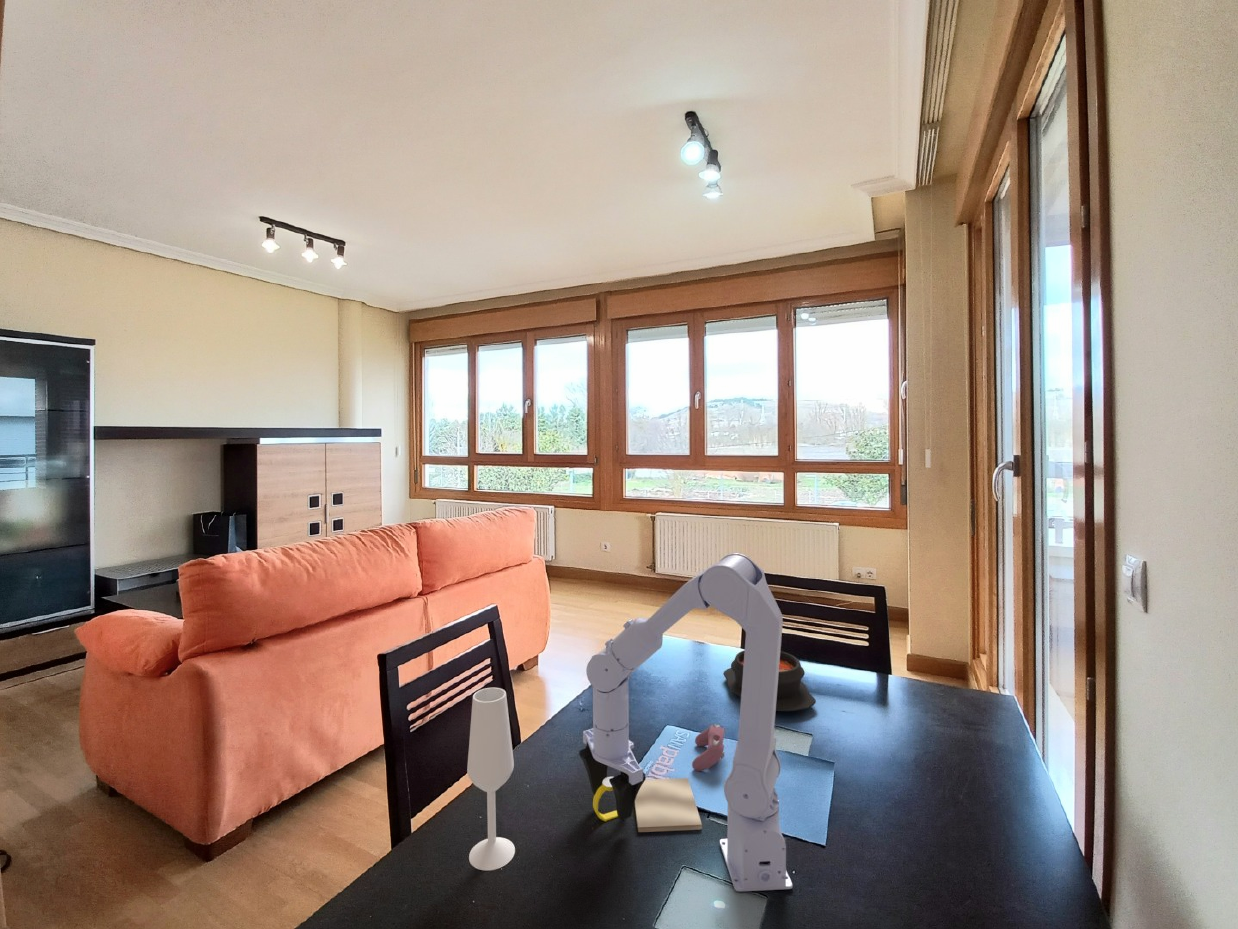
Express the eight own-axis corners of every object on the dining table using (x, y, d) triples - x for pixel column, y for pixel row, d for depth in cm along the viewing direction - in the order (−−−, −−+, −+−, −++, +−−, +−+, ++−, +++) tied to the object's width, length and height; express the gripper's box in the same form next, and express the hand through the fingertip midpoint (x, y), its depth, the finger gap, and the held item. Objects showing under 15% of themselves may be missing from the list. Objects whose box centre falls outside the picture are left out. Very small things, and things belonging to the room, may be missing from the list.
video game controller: (712, 782, 103) (730, 751, 102) (689, 769, 103) (707, 737, 102) (713, 752, 112) (730, 723, 111) (693, 740, 113) (709, 711, 112)
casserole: (835, 710, 126) (836, 673, 126) (767, 726, 119) (768, 688, 119) (766, 668, 149) (766, 636, 149) (705, 679, 142) (706, 647, 142)
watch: (598, 829, 89) (596, 793, 88) (592, 818, 91) (589, 783, 91) (632, 815, 91) (630, 780, 91) (625, 805, 94) (622, 771, 93)
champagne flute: (524, 853, 83) (521, 695, 82) (483, 878, 79) (480, 710, 77) (499, 830, 88) (497, 680, 87) (460, 852, 83) (457, 694, 82)
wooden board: (701, 829, 88) (701, 824, 88) (638, 832, 88) (638, 827, 87) (688, 782, 100) (688, 778, 100) (632, 784, 99) (632, 780, 99)
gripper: (658, 734, 87) (658, 819, 87) (607, 698, 99) (607, 773, 99) (620, 749, 83) (621, 838, 83) (572, 709, 95) (572, 788, 95)
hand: (611, 804), depth 91 cm, fingers open, 7 cm apart
